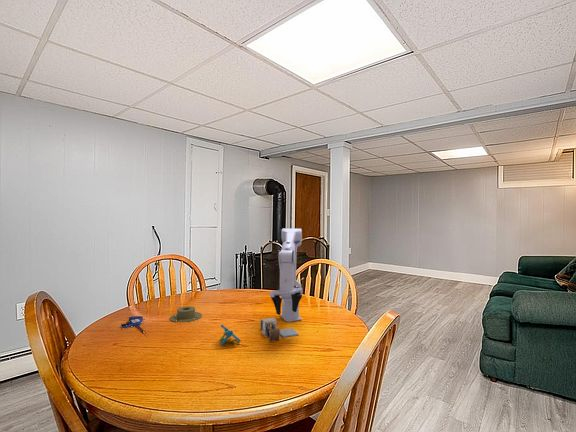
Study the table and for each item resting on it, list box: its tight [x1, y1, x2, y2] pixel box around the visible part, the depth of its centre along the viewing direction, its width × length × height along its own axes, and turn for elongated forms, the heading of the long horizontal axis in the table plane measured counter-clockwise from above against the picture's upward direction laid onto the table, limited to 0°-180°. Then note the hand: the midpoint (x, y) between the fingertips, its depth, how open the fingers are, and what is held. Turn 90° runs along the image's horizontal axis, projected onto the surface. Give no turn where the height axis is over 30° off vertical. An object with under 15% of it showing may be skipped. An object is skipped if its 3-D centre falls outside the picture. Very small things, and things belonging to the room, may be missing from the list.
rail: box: [259, 319, 281, 342], centre depth 128 cm, size 14×4×4 cm, turn 21°
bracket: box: [262, 317, 278, 338], centre depth 128 cm, size 4×5×6 cm
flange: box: [169, 305, 203, 323], centre depth 149 cm, size 5×15×15 cm
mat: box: [279, 327, 299, 339], centre depth 129 cm, size 7×7×1 cm
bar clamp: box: [120, 315, 146, 333], centre depth 131 cm, size 32×2×10 cm
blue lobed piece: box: [219, 324, 242, 345], centre depth 119 cm, size 11×6×10 cm
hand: (286, 312), depth 124 cm, fingers open, 7 cm apart
